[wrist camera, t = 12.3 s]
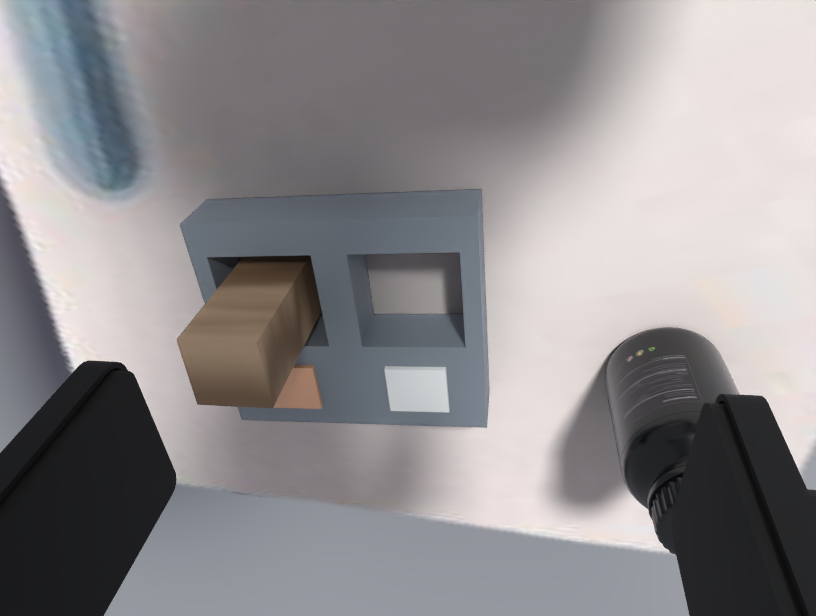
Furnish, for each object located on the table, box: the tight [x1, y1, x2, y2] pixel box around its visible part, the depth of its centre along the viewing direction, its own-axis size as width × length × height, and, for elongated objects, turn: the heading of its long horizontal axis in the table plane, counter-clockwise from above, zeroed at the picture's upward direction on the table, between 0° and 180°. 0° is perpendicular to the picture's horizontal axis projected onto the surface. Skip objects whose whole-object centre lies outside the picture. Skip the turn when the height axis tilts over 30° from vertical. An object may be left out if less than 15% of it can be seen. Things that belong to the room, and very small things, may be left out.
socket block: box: [180, 189, 489, 428], centre depth 37 cm, size 14×16×4 cm
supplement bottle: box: [605, 327, 740, 554], centre depth 33 cm, size 7×7×12 cm
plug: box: [177, 255, 322, 408], centre depth 34 cm, size 4×4×10 cm
